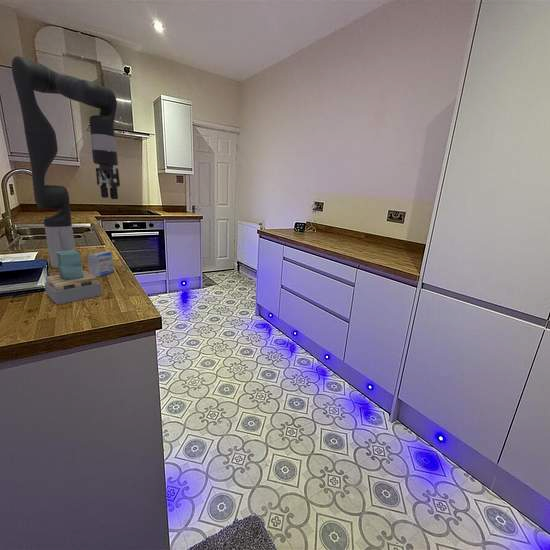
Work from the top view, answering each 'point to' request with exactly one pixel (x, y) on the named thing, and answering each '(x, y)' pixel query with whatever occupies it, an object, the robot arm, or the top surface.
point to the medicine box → (100, 263)
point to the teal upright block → (69, 265)
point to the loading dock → (73, 292)
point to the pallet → (70, 281)
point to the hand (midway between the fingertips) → (109, 198)
